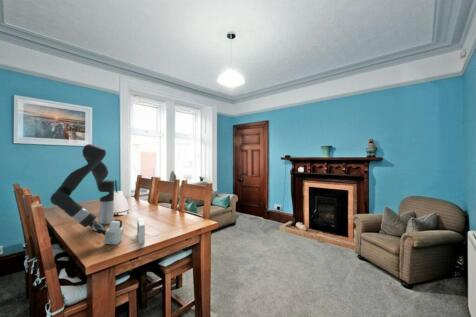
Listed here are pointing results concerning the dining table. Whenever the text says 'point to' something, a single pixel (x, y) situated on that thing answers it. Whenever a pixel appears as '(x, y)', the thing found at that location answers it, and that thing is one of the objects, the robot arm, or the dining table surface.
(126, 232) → the dining table surface
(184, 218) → the dining table surface
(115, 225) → the container
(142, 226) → the plate
